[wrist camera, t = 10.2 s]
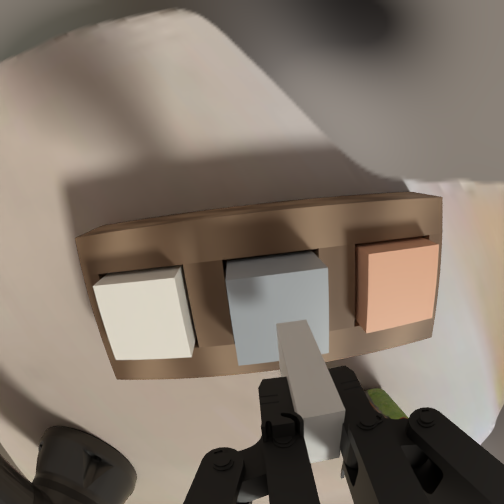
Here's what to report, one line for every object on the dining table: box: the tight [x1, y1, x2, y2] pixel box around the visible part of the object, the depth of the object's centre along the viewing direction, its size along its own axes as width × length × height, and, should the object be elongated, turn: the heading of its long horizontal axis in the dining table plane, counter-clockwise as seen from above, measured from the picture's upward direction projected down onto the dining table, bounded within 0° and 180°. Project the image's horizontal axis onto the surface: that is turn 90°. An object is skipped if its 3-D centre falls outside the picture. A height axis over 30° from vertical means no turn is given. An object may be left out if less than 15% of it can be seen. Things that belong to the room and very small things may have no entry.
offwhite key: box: [93, 264, 197, 360], centre depth 21 cm, size 6×6×4 cm
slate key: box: [225, 250, 329, 366], centre depth 20 cm, size 6×6×4 cm
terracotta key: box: [355, 236, 439, 333], centre depth 21 cm, size 6×6×4 cm
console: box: [75, 192, 442, 380], centre depth 23 cm, size 27×12×5 cm, turn 96°
